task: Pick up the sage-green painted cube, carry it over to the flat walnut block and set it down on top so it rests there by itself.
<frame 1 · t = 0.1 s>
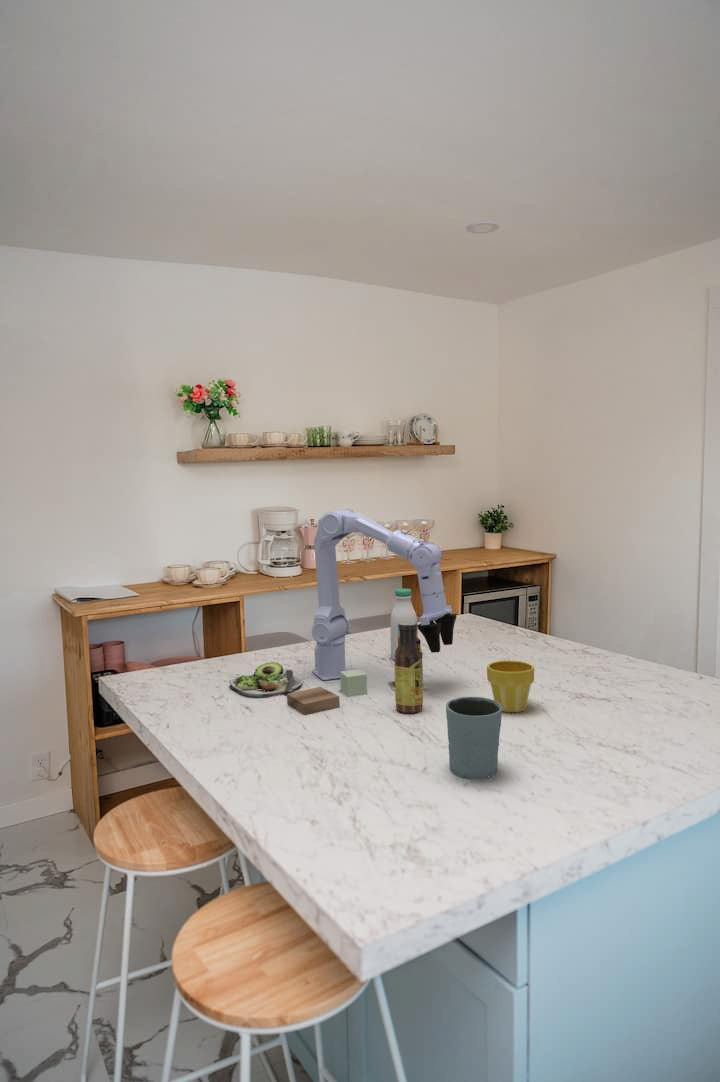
hand: (442, 648, 176), 11 cm above the table, tool pointing down, fingers open, 7 cm apart
plant pot: (510, 708, 164), on the table
salad plate: (266, 687, 185), on the table
walnut block: (313, 707, 169), on the table
milk bottle: (404, 659, 207), on the table
sage cube: (353, 692, 178), on the table
condiment: (407, 686, 182), on the table
grey blue cup: (474, 770, 132), on the table
sauce bottle: (409, 710, 164), on the table
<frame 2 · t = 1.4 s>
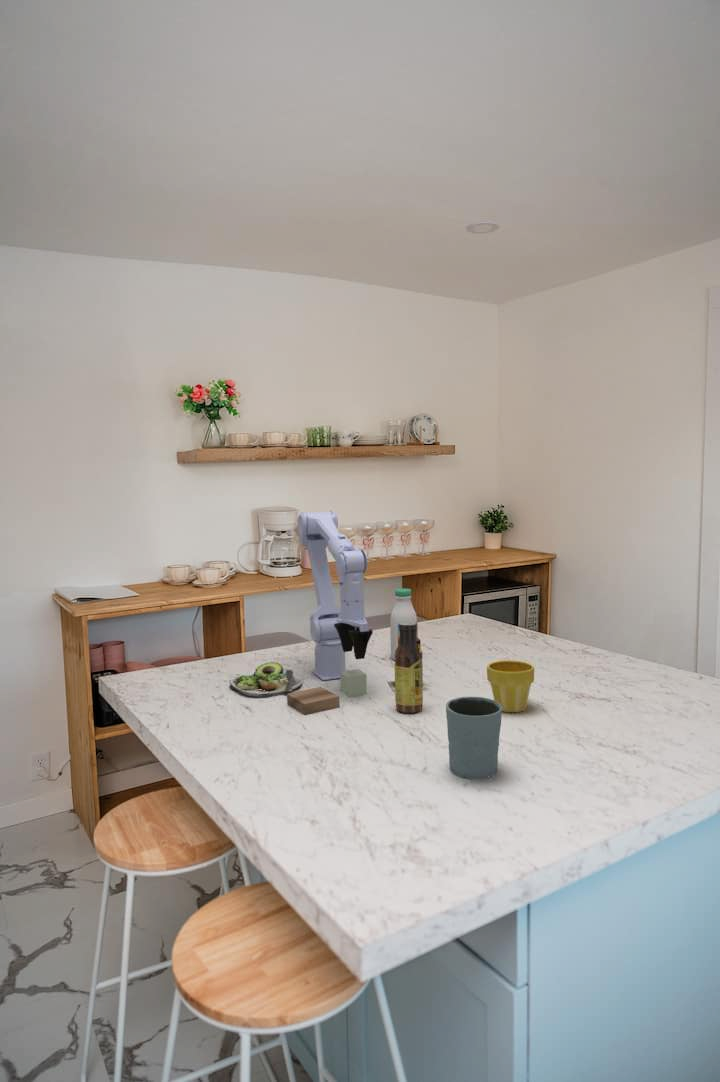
hand: (353, 654, 176), 9 cm above the table, tool pointing down, fingers open, 7 cm apart
nothing on the table moved.
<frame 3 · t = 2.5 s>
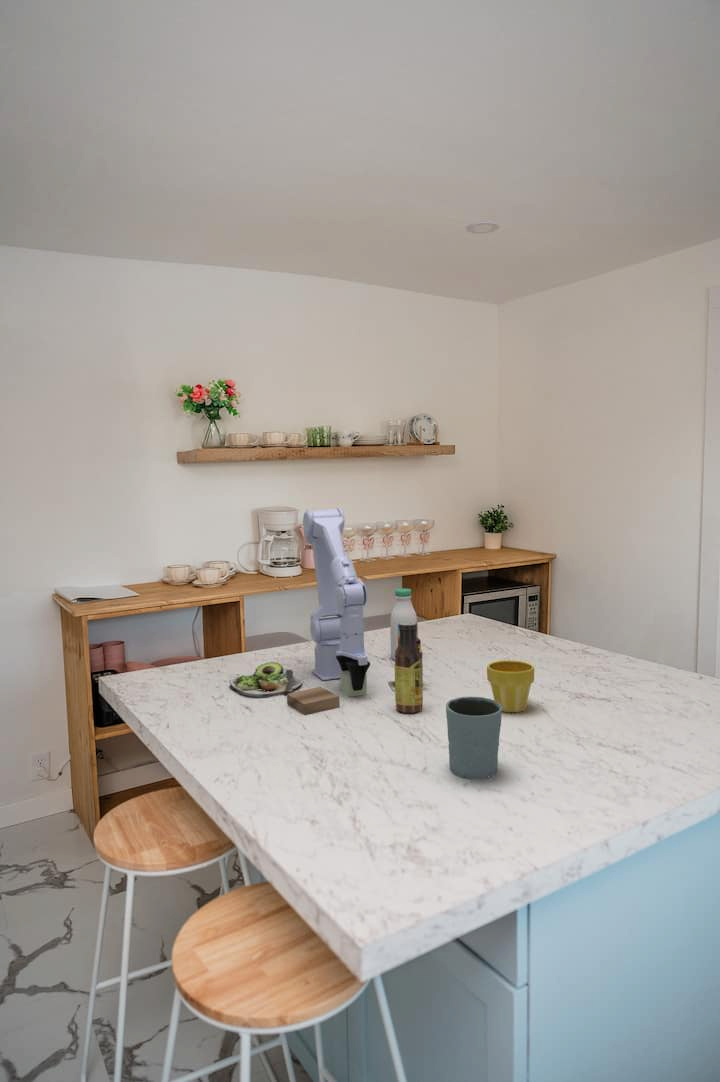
hand: (353, 686, 178), 1 cm above the table, tool pointing down, fingers closed on sage cube, 5 cm apart
sage cube: (353, 692, 178), on the table, touching gripper
everything else where it was.
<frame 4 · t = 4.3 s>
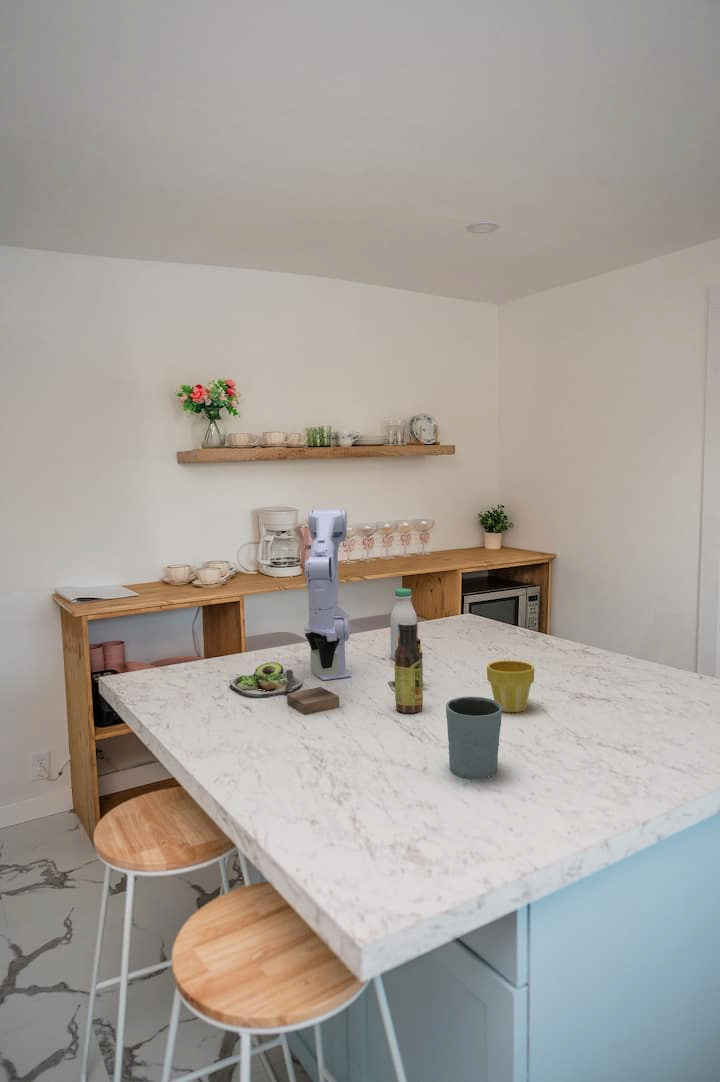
hand: (322, 664, 170), 9 cm above the table, tool pointing down, fingers closed on sage cube, 5 cm apart
sage cube: (324, 672, 170), point 7 cm above the table, touching gripper
everything else where it was.
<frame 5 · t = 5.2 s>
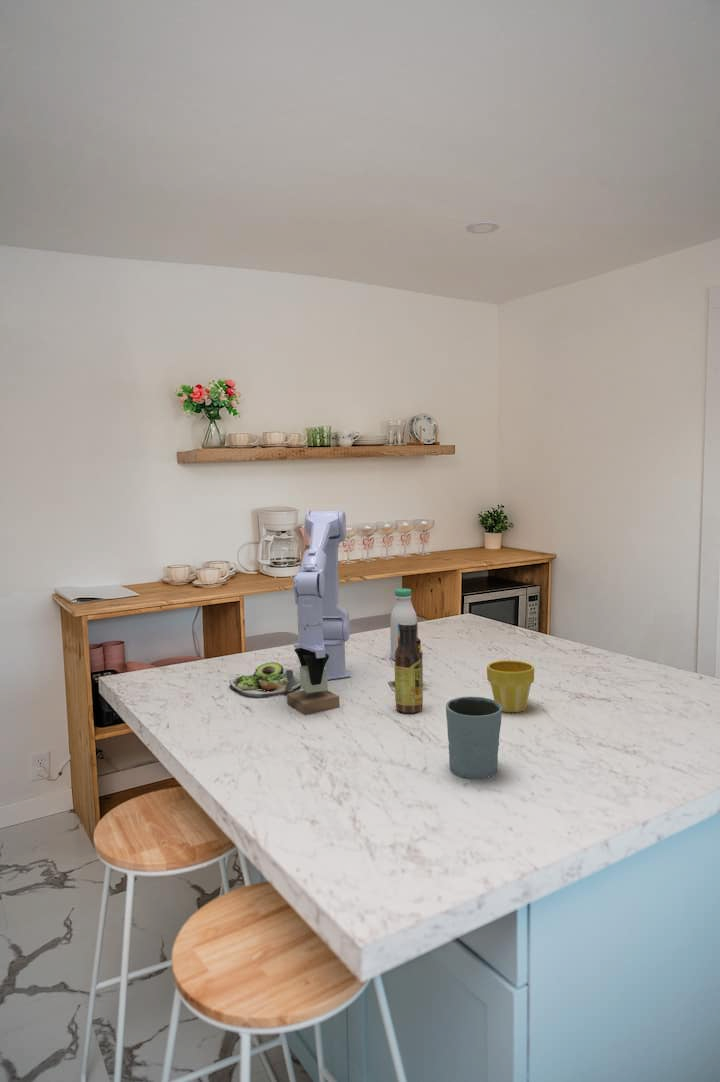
hand: (312, 681, 168), 6 cm above the table, tool pointing down, fingers closed on sage cube, 5 cm apart
sage cube: (314, 688, 168), point 4 cm above the table, touching gripper
everything else where it was.
when the fingers open (6 cm above the table, at t = 5.6 s): sage cube drops 2 cm, point 2 cm above the table.
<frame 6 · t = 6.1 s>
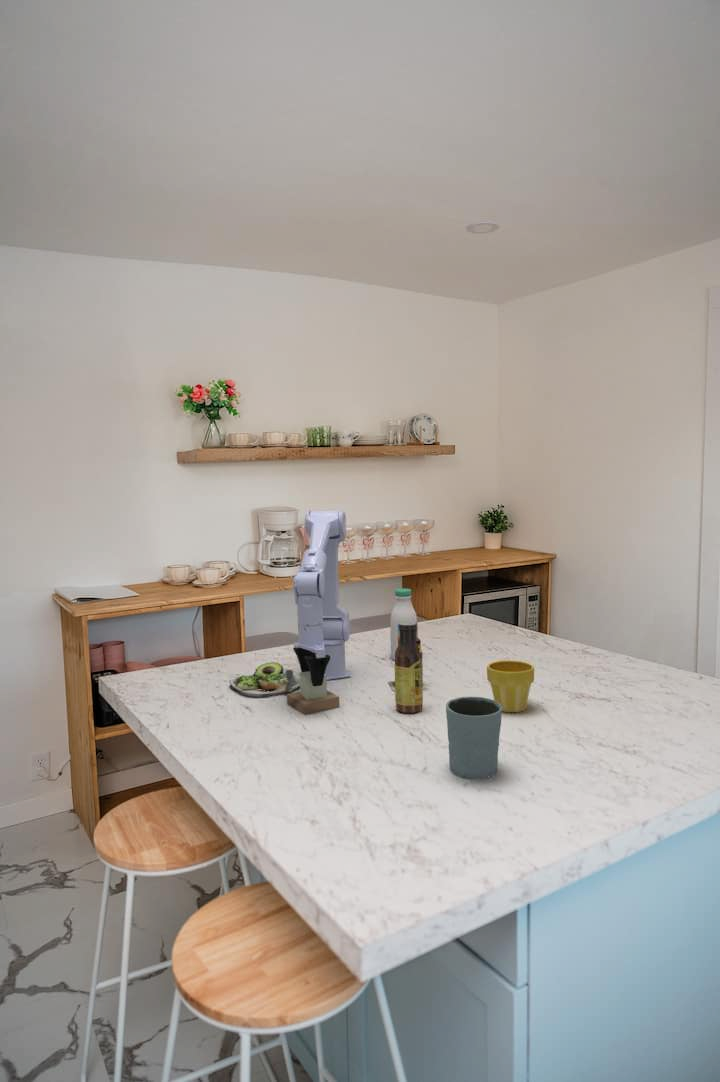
hand: (312, 681, 168), 6 cm above the table, tool pointing down, fingers open, 7 cm apart
sage cube: (313, 695, 169), point 2 cm above the table
everything else where it was.
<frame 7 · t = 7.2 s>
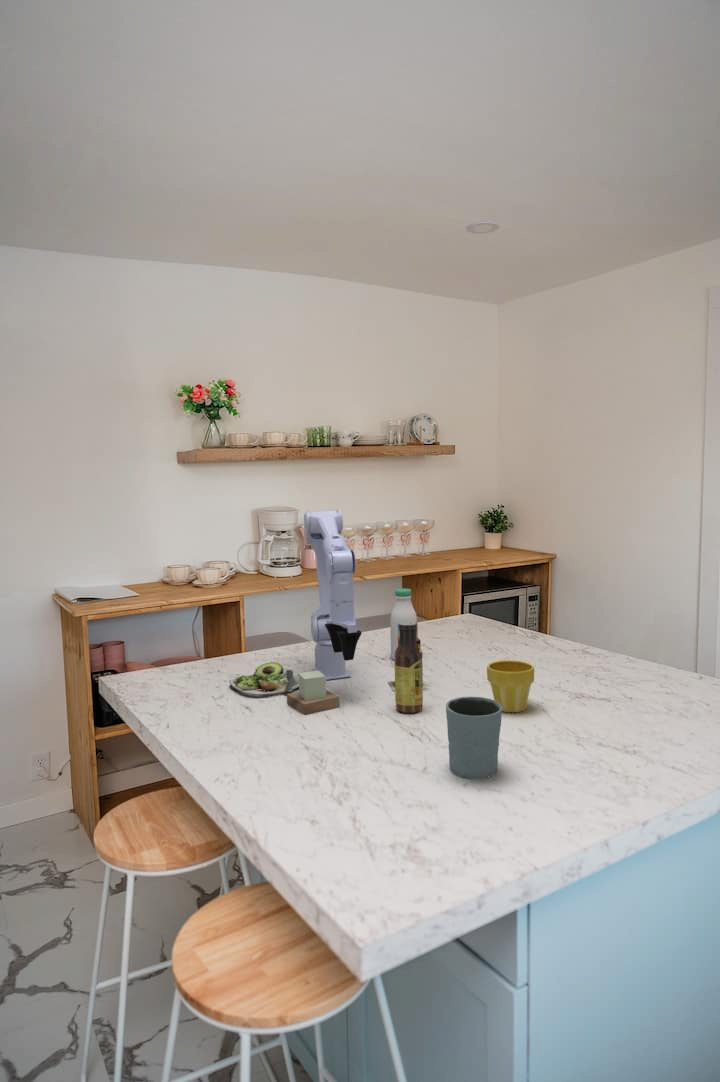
hand: (343, 655, 174), 10 cm above the table, tool pointing down, fingers open, 7 cm apart
walnut block: (313, 707, 169), on the table, touching sage cube
sage cube: (312, 695, 168), point 2 cm above the table, touching walnut block
everything else where it was.
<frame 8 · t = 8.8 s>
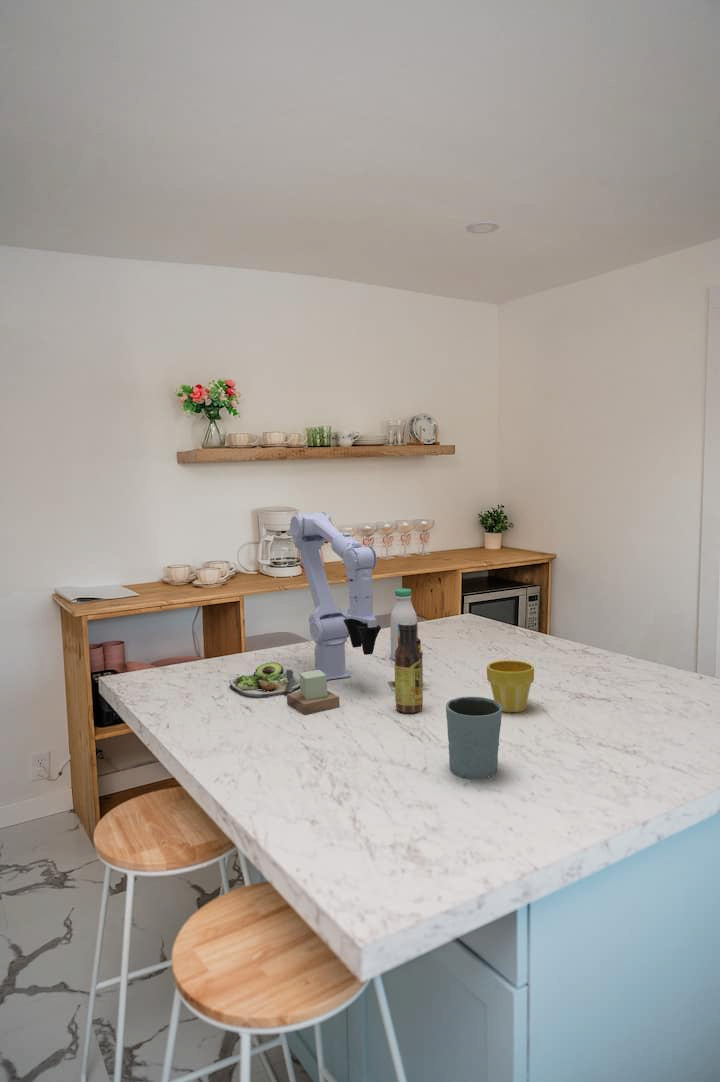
hand: (362, 650, 179), 10 cm above the table, tool pointing down, fingers open, 7 cm apart
walnut block: (313, 707, 169), on the table
sage cube: (313, 695, 168), point 3 cm above the table
everything else where it was.
at the end: sage cube 0.4 cm off-centre on the walnut block, point 3.0 cm above the walnut block's base; sage cube tilted 0°; the gripper is holding nothing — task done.
